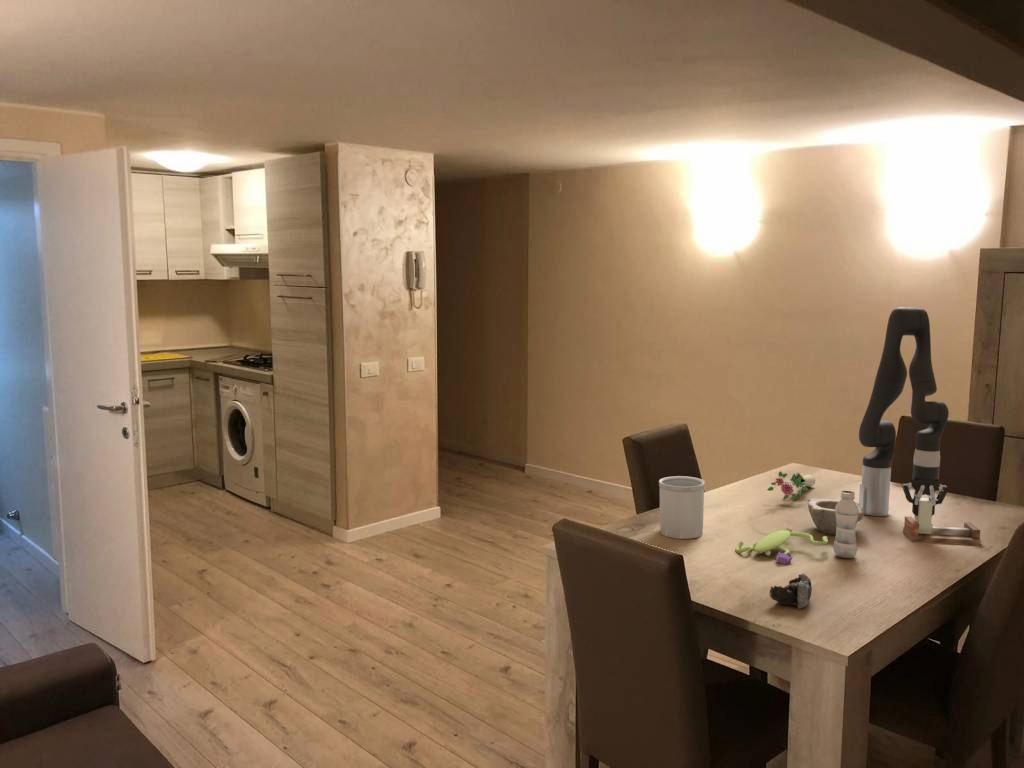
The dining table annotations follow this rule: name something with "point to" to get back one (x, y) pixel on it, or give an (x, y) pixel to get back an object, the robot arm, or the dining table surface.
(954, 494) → the dining table surface
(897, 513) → the dining table surface
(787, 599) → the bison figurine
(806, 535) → the figurine
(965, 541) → the track
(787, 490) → the flower vase
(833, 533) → the mortar
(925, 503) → the slider
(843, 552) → the plastic bottle
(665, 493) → the utensil holder
